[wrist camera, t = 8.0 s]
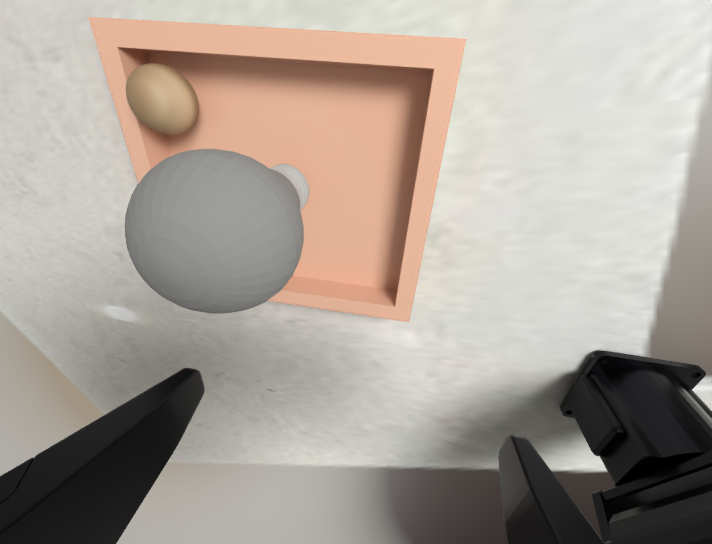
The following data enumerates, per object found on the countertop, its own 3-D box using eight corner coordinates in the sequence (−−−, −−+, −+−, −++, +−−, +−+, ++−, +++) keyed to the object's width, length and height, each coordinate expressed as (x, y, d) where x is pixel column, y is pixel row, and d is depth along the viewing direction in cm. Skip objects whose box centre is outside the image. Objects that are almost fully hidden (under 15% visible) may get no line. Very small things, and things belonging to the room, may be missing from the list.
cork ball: (205, 67, 15) (163, 62, 13) (215, 133, 17) (180, 141, 14) (149, 63, 15) (97, 58, 13) (165, 128, 17) (121, 135, 14)
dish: (457, 46, 14) (466, 39, 12) (409, 299, 21) (409, 322, 19) (131, 26, 15) (88, 17, 13) (191, 268, 22) (169, 285, 20)
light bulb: (221, 155, 17) (29, 215, 9) (311, 108, 15) (174, 126, 7) (274, 246, 20) (162, 362, 11) (358, 216, 18) (300, 330, 9)
